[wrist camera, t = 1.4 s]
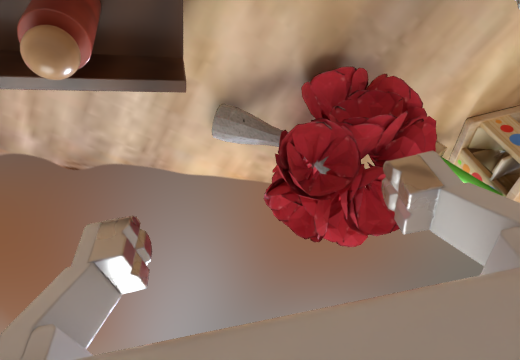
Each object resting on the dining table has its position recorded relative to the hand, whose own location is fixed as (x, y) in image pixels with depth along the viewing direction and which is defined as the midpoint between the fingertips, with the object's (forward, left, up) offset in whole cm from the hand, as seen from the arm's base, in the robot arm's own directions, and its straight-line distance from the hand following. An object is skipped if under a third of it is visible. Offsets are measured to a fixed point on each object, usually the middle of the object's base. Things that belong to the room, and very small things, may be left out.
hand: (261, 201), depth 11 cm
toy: (-9, -3, -24) cm, 26 cm away
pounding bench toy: (+57, -29, -35) cm, 72 cm away
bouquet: (+18, -21, -35) cm, 45 cm away
